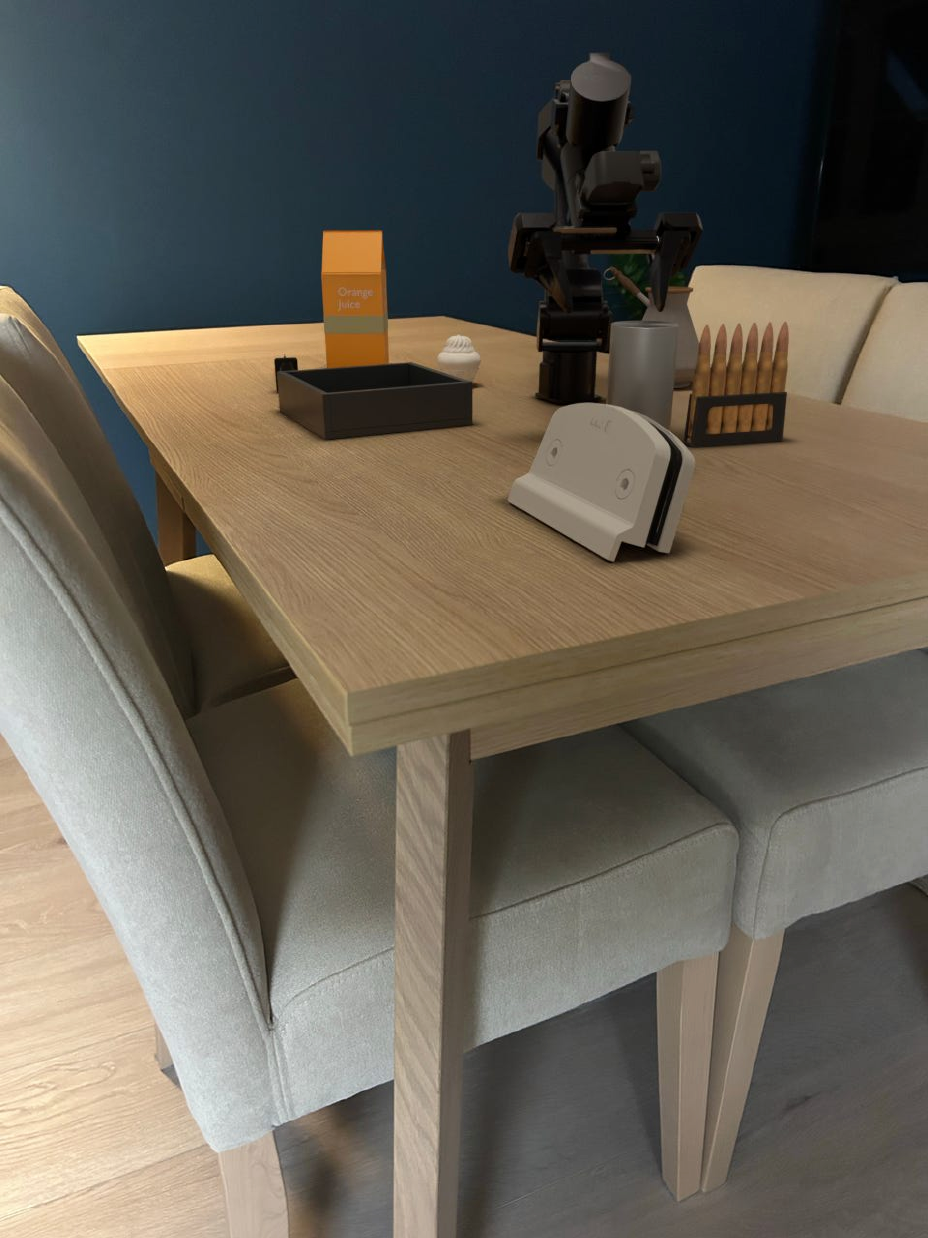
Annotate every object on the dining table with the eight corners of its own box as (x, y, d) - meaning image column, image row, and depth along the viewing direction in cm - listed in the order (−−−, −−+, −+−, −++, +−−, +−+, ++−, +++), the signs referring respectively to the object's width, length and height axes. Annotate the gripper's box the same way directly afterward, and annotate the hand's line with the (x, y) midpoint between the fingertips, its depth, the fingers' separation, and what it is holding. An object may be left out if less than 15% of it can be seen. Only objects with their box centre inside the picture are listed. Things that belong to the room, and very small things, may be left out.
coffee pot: (720, 387, 130) (732, 271, 124) (650, 393, 125) (659, 274, 119) (635, 366, 148) (642, 265, 142) (571, 371, 143) (575, 266, 137)
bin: (412, 399, 122) (411, 361, 120) (472, 424, 107) (472, 381, 105) (279, 411, 114) (276, 371, 113) (325, 439, 100) (322, 394, 98)
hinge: (505, 499, 78) (544, 382, 76) (551, 511, 80) (591, 398, 78) (610, 561, 64) (663, 420, 62) (663, 574, 66) (716, 438, 64)
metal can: (641, 456, 93) (651, 319, 88) (679, 469, 88) (692, 325, 83) (590, 463, 90) (598, 322, 85) (626, 477, 85) (636, 329, 80)
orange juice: (385, 375, 140) (380, 230, 132) (326, 375, 141) (317, 230, 133) (389, 367, 148) (385, 229, 140) (333, 367, 148) (326, 229, 140)
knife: (296, 397, 116) (293, 360, 114) (271, 397, 115) (268, 360, 114) (302, 384, 145) (301, 354, 143) (283, 384, 144) (281, 354, 143)
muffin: (430, 387, 130) (429, 335, 127) (446, 380, 135) (446, 330, 132) (472, 390, 128) (472, 337, 125) (487, 383, 133) (487, 332, 130)
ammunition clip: (773, 437, 101) (788, 320, 96) (783, 440, 99) (798, 322, 94) (682, 443, 98) (693, 323, 93) (691, 447, 96) (702, 325, 92)
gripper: (515, 119, 88) (535, 250, 82) (706, 120, 90) (737, 248, 85) (500, 210, 98) (517, 332, 93) (672, 209, 101) (698, 328, 95)
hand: (616, 309), depth 91 cm, fingers open, 9 cm apart
